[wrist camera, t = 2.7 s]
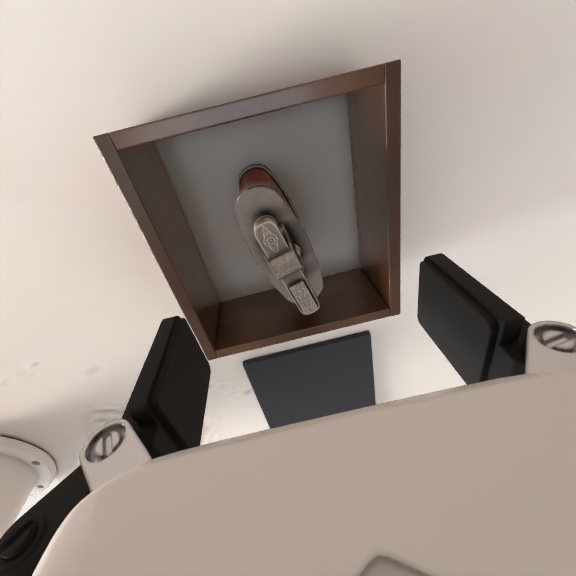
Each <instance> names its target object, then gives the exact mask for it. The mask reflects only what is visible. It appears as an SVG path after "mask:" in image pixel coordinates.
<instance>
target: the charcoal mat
mask: <svg viewBox="0 0 576 576" xmlns="http://www.w3.org/2000/svg"><path fill="white" fill-rule="evenodd" d="M243 366H244V368H245V371H246V373H247V375H248V378H249V380H250V382H251V385H252V387H253V389H254V392H255V394H256V396H257V399H258V401H259V404H260V406H261V408H262V411H263V413H264V415H265V418H266V420H267V422H268V425H269V427H270V429H272V428H277V427H281V426H285V425H290V424H294V423H298V422H303V421H307V420H311V419H316V418H320V417H324V416H329V415H333V414H338V413H342V412H346V411H351V410H355V409H360V408H364V407H369V406H373V405H376V404H375V390H374V377H373V363H372V349H371V336H370V333H369V331H366V332H362V333H358V334H353V335H349V336H345V337H341V338H337V339H333V340H329V341H325V342H320V343H316V344H312V345H308V346H304V347H300V348H296V349H292V350H288V351H283V352H279V353H275V354H271V355H267V356H263V357H259V358H255V359H250V360H246V361H243Z"/></svg>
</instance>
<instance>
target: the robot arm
mask: <svg viewBox="0 0 576 576" xmlns="http://www.w3.org/2000/svg"><path fill="white" fill-rule="evenodd" d="M417 316H418V320H419V323H420V324H421V326H422V327H423V328H424V330H425V331H426V332H427V333H428V335H429V336H430V337H431V339H432V340H433V341H434V343H435V344H436V345H437V346H438V348H439V349H440V350H441V352H442V353H443V354H444V355H445V357H446V358H447V359H448V361H449V362H450V363H451V365H452V366H453V367H454V368H455V370H456V371H457V372H458V374H459V375H460V376H461V378H462V379H463V380H464V381H465V383H466V384H467V385H464V386H459V387H454V388H449V389H445V390H440V391H436V392H431V393H427V394H422V395H418V396H413V397H409V398H404V399H400V400H395V401H391V402H386V403H382V404H377V405H373V406H369V407H364V408H360V409H355V410H351V411H346V412H342V413H338V414H333V415H329V416H324V417H320V418H316V419H311V420H307V421H303V422H298V423H294V424H290V425H285V426H281V427H277V428H272V429H268V430H264V431H260V432H255V433H251V434H247V435H242V436H238V437H234V438H230V439H225V440H221V441H217V442H213V443H209V444H205V445H201V446H200V441H201V434H202V427H203V420H204V414H205V407H206V400H207V393H208V387H209V380H210V373H211V370H210V365H209V363H208V361H207V359H206V357H205V355H204V353H203V351H202V349H201V348H200V346H199V344H198V342H197V340H196V338H195V336H194V334H193V332H192V330H191V329H190V327H189V325H188V323H187V321H186V319H184V318H182V319H181V318H180V317H179V316H175V317H170V318H166V319H163V320H162V322H161V324H160V327H159V329H158V332H157V334H156V337H155V339H154V341H153V344H152V346H151V349H150V351H149V354H148V356H147V359H146V361H145V363H144V365H143V368H142V370H141V373H140V375H139V377H138V380H137V382H136V385H135V387H134V390H133V392H132V394H131V397H130V399H129V402H128V404H127V407H126V409H125V412H124V414H123V416H122V419H115V420H112V421H110V422H107V423H105V424H104V425H102V426H101V427H99V428H98V429H97V430H96V431H95V432H93V433H92V434H91V435H90V437H89V438H88V439H87V440H86V442H85V443H84V445H83V447H82V449H81V452H80V455H79V459H80V464H81V465H80V466H79V467H78V468H77V469H75V470H74V471H73V472H72V473H71V474H70V475H68V476H67V477H66V478H65V479H64V480H63V481H62V482H60V483H59V484H58V485H57V486H56V487H55V488H54V489H52V490H51V491H50V492H49V493H48V494H47V495H46V496H44V497H43V498H42V499H41V500H40V501H39V502H37V503H36V504H35V505H34V506H33V507H32V508H31V509H29V510H28V511H27V512H26V513H25V514H24V515H23V516H21V517H20V518H19V519H18V520H17V521H16V522H15V523H14V521H15V519H16V518H17V516H18V514H19V512H20V510H21V509H22V507H23V505H24V503H25V502H26V500H27V498H28V496H30V495H33V494H36V493H38V492H40V491H43V490H44V489H45V488H47V487H48V486H49V485H50V484H51V482H52V480H53V478H54V476H55V474H56V465H55V463H54V461H53V460H52V458H51V457H50V456H49V455H48V454H46V453H45V452H44V451H42V450H40V449H39V448H37V447H35V446H33V445H30V444H28V443H25V442H22V441H19V440H16V439H11V438H7V437H0V576H576V327H575V326H572V325H570V324H566V323H562V322H557V321H539V322H536V323H533V324H532V325H531V324H530V323H529V322H527V321H526V320H525V317H523V316H522V315H521V314H520V313H518V312H517V311H516V310H514V309H513V308H512V307H511V306H509V305H508V304H507V303H505V302H504V301H503V300H502V299H500V298H499V297H498V296H496V295H495V294H494V293H493V292H491V291H490V290H489V289H487V288H486V287H485V286H484V285H482V284H481V283H480V282H478V281H477V280H476V279H475V278H473V277H472V276H471V275H469V274H468V273H467V272H466V271H464V270H463V269H462V268H460V267H459V266H458V265H457V264H455V263H454V262H453V261H451V260H450V259H449V258H448V257H446V256H445V255H444V254H442V253H440V254H436V255H431V256H427V257H425V258H424V261H422V262H421V263H420V272H419V293H418V314H417ZM13 523H14V524H13Z"/></svg>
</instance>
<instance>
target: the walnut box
mask: <svg viewBox="0 0 576 576" xmlns="http://www.w3.org/2000/svg"><path fill="white" fill-rule="evenodd" d="M345 93H347V102H348V114H349V126H350V138H351V150H352V162H353V174H354V186H355V198H356V211H357V223H358V235H359V247H360V259H361V268H360V269H356V270H352V271H348V272H344V273H340V274H336V275H332V276H327V277H323V278H322V280H323V288H322V291H321V293H320V294H319V295H318V296H317V299H318V302H319V305H320V306H319V309H318V310H317V311H315V312H313V313H311V314H308V315H305V314H303V313H302V312H301V311H300V310H299V308H298V307H297V305H296V303H292V302H290V301H289V300H287V299H286V298H285V297H284V296H283V295H282V294H281V293H280V292H279V291H278V290H277V289H274V290H270V291H266V292H262V293H258V294H254V295H250V296H246V297H242V298H238V299H234V300H230V301H226V302H222V303H221V302H220V299H219V297H218V295H217V292H216V290H215V287H214V285H213V283H212V280H211V278H210V275H209V273H208V271H207V268H206V266H205V263H204V261H203V259H202V256H201V254H200V251H199V249H198V247H197V244H196V242H195V239H194V237H193V235H192V232H191V230H190V227H189V225H188V223H187V220H186V218H185V215H184V213H183V211H182V208H181V206H180V203H179V201H178V199H177V196H176V194H175V191H174V189H173V187H172V184H171V182H170V179H169V177H168V175H167V172H166V170H165V167H164V165H163V163H162V160H161V158H160V155H159V153H158V151H157V148H156V146H155V144H154V141H158V140H162V139H166V138H170V137H174V136H178V135H182V134H186V133H190V132H194V131H198V130H202V129H206V128H210V127H214V126H218V125H222V124H226V123H230V122H233V121H237V120H241V119H245V118H249V117H253V116H257V115H261V114H265V113H269V112H273V111H277V110H281V109H285V108H289V107H293V106H297V105H301V104H305V103H309V102H313V101H317V100H321V99H325V98H329V97H333V96H337V95H341V94H345ZM93 139H94V141H95V143H96V145H97V147H98V149H99V151H100V153H101V154H102V156H103V158H104V160H105V162H106V164H107V166H108V168H109V170H110V172H111V174H112V176H113V178H114V180H115V182H116V183H117V185H118V187H119V189H120V191H121V193H122V195H123V197H124V199H125V201H126V203H127V205H128V207H129V209H130V211H131V212H132V214H133V216H134V218H135V220H136V222H137V224H138V226H139V228H140V230H141V232H142V234H143V236H144V238H145V240H146V241H147V243H148V245H149V247H150V249H151V251H152V253H153V255H154V257H155V259H156V261H157V263H158V265H159V267H160V269H161V270H162V272H163V274H164V276H165V278H166V280H167V282H168V284H169V286H170V288H171V290H172V292H173V294H174V296H175V298H176V299H177V301H178V303H179V305H180V307H181V309H182V311H183V313H184V315H185V317H186V319H187V321H188V323H189V325H190V327H191V329H192V330H193V332H194V334H195V336H196V338H197V340H198V342H199V344H200V346H201V348H202V350H203V352H204V354H205V356H206V358H207V359H208V360H212V359H216V358H220V357H224V356H228V355H233V354H237V353H241V352H245V351H249V350H253V349H257V348H261V347H265V346H270V345H274V344H278V343H282V342H286V341H290V340H294V339H298V338H302V337H307V336H311V335H315V334H319V333H323V332H327V331H331V330H335V329H339V328H344V327H348V326H352V325H356V324H360V323H364V322H368V321H372V320H376V319H381V318H385V317H389V316H394V315H398V314H400V161H401V60H400V59H399V60H395V61H391V62H387V63H384V64H379V65H375V66H371V67H367V68H363V69H359V70H356V71H352V72H348V73H344V74H340V75H336V76H332V77H328V78H324V79H320V80H316V81H312V82H308V83H304V84H300V85H296V86H292V87H288V88H284V89H280V90H276V91H272V92H268V93H264V94H260V95H256V96H252V97H248V98H244V99H240V100H237V101H233V102H229V103H225V104H221V105H217V106H213V107H209V108H205V109H201V110H197V111H193V112H189V113H185V114H181V115H177V116H173V117H169V118H165V119H161V120H157V121H153V122H149V123H145V124H141V125H137V126H133V127H129V128H125V129H122V130H118V131H114V132H110V133H106V134H102V135H98V136H94V137H93Z"/></svg>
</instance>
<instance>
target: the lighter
mask: <svg viewBox="0 0 576 576" xmlns="http://www.w3.org/2000/svg"><path fill="white" fill-rule="evenodd" d="M238 187H239V191H240V195H239V197H238V198H237V201H236V205H235V216H236V219H237V222H238V225H239V227H240V230H241V232H242V235H243V237H244V240H245V242H246V244H247V246H248V248H249V250H250V252H251V254H252V255H253V257H254V259H255V261H256V263H257V265H258V266H259V267H260V269H261V270H262V271H263V273H264V274H265V275H266V277H267V278H268V279H269V281H270V282H271V283H272V285H273V286H274V287H275V288H276V289H277V290H278V291H279V292H280V293H281V294H282V295H283V296H284V297H285V298H286V299H287V300H289V301H290V302H292V303H296V305H297V307H298V308H299V310H300V311H301V312H302V313H303V314H305V315H308V314H311V313H313V312H315V311H317V310H318V309H319V306H320V305H319V302H318V299H317V296H318V295H319V294H320V293H321V291H322V288H323V280H322V276H321V272H320V268H319V264H318V261H317V258H316V256H315V253H314V251H313V248H312V246H311V243H310V241H309V239H308V236H307V234H306V233H305V231H304V229H303V228H302V226H301V224H300V221H299V219H298V216H297V214H296V211H295V209H294V207H293V204H292V203H291V201H290V199H289V197H288V196H287V194H286V192H285V191H284V189H283V187H282V186H281V184H280V183H279V182H278V180H277V179H276V178H275V176H274V175H273V174H272V173H271V171H270V170H269V169H268V168H267V167H266V166H264V165H261V164H252V165H250V166H247V167H246V168H245V169H244V170H243V171H242V172H241V174H240V176H239V180H238Z"/></svg>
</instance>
